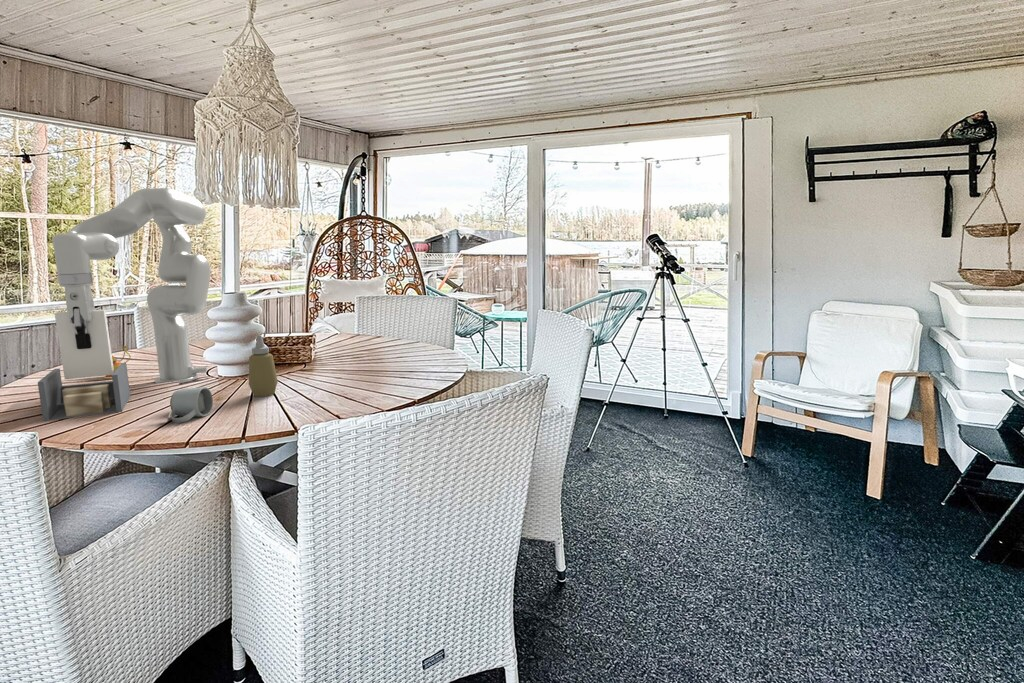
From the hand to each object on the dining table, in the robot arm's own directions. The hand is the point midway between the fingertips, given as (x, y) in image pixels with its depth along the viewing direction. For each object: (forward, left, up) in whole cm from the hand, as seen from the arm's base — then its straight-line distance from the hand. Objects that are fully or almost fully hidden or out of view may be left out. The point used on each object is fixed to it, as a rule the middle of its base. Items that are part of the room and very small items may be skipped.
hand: (85, 346), depth 168 cm
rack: (0, +4, -18) cm, 18 cm away
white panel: (0, 0, -8) cm, 8 cm away
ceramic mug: (-25, +22, -18) cm, 38 cm away
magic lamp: (+3, -48, -18) cm, 51 cm away
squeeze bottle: (-44, +6, -18) cm, 48 cm away
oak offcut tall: (0, +6, -16) cm, 17 cm away
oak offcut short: (0, +10, -16) cm, 19 cm away
